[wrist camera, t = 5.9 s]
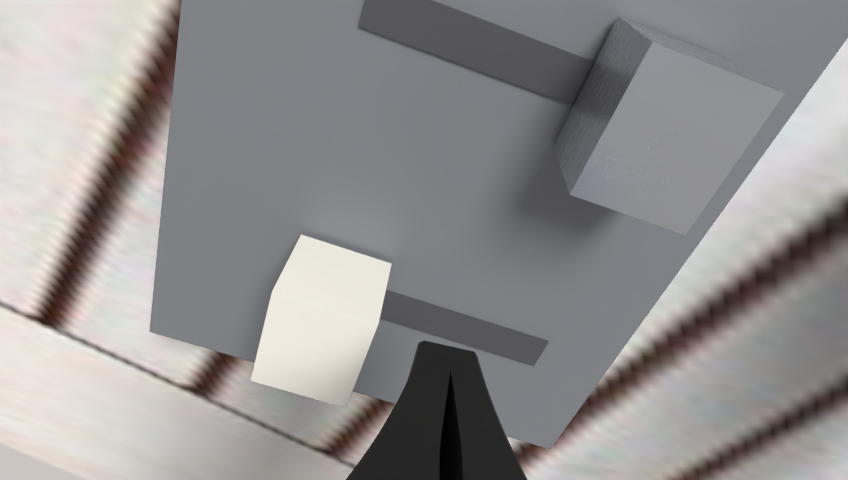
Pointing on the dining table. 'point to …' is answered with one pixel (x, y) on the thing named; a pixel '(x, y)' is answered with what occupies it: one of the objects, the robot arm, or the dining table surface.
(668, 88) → the grey slider
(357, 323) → the cream slider
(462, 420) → the robot arm
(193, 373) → the dining table surface
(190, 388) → the dining table surface
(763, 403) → the dining table surface
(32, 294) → the dining table surface
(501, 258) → the control panel
